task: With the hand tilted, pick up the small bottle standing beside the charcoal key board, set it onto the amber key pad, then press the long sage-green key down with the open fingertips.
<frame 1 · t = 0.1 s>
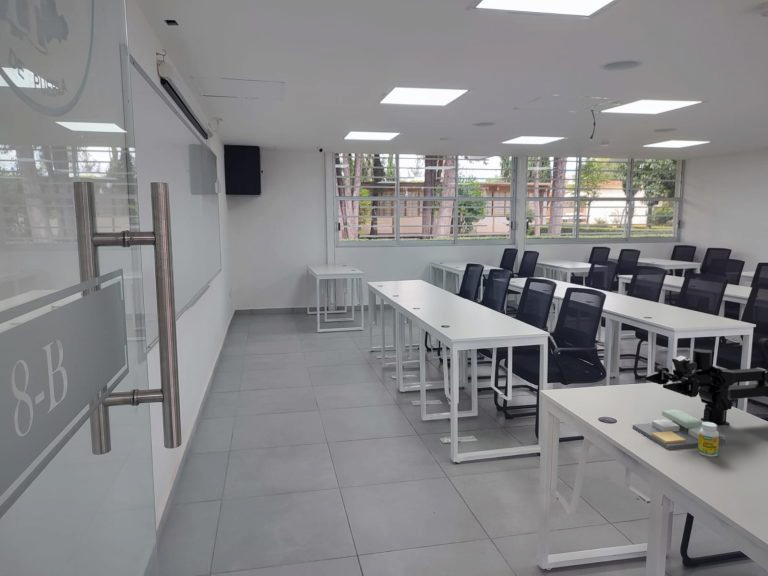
hand: (654, 382, 183), 17 cm above the table, tool horizontal, fingers open, 9 cm apart
supplement bottle: (707, 454, 164), on the table
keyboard: (677, 435, 178), on the table
green key: (681, 420, 183), point 3 cm above the table, slide at 0.0 cm
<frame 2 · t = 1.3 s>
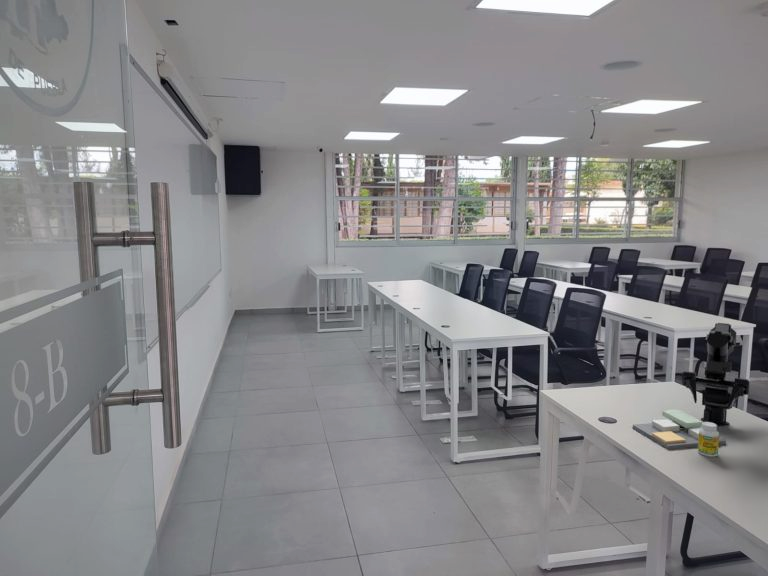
hand: (712, 405, 168), 13 cm above the table, tool tilted 45°, fingers open, 9 cm apart
nothing on the table moved.
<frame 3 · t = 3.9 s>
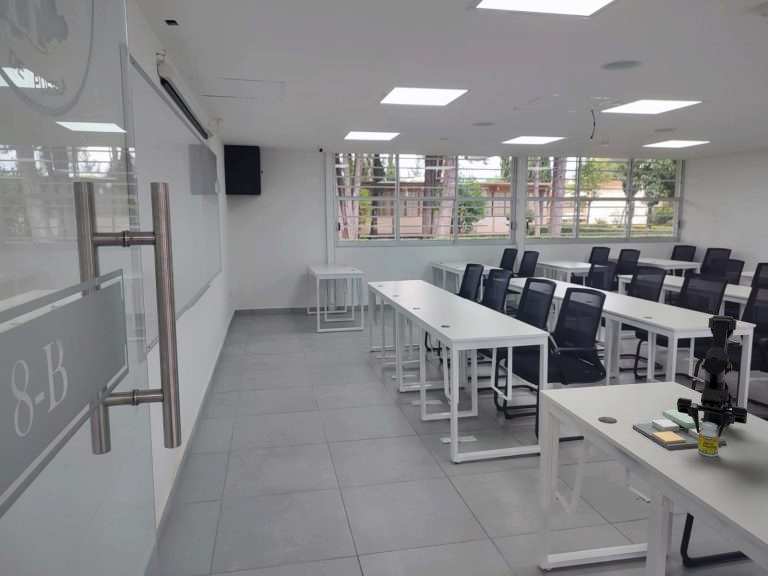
hand: (708, 434, 162), 7 cm above the table, tool tilted 45°, fingers closed on supplement bottle, 5 cm apart
supplement bottle: (707, 454, 164), on the table, touching gripper
everything else where it was.
when the fingers open (9 cm above the table, at t = 7.1 s): supplement bottle stays where it is, resting on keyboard.
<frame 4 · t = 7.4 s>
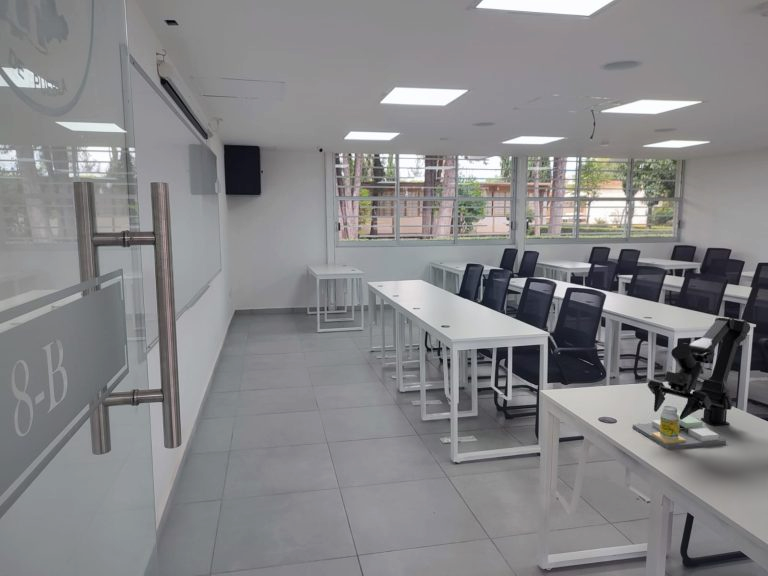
hand: (667, 414, 171), 10 cm above the table, tool tilted 45°, fingers open, 8 cm apart
supplement bottle: (668, 436, 173), point 2 cm above the table, touching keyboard
everything else where it was.
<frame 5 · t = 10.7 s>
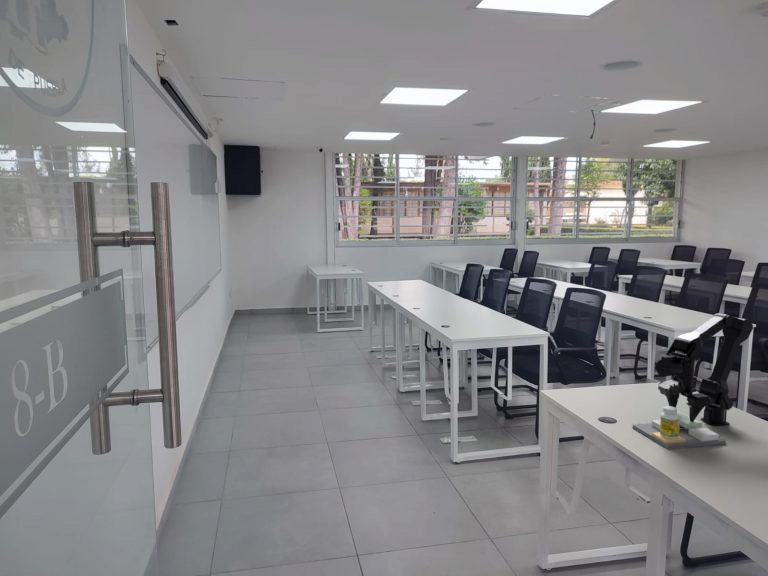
hand: (682, 416, 183), 4 cm above the table, tool pointing down
green key: (681, 420, 183), point 3 cm above the table, slide at 0.2 cm, touching gripper
everything else where it was.
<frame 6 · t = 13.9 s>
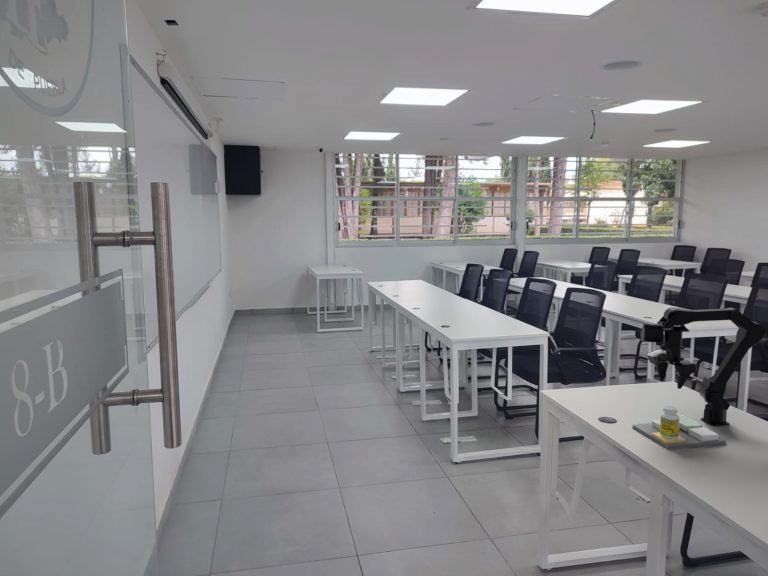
hand: (670, 384, 191), 13 cm above the table, tool pointing down, fingers open, 9 cm apart
green key: (681, 423, 183), point 2 cm above the table, slide at 1.2 cm
everything else where it was.
at the end: supplement bottle inside the target area (0.2 cm from its centre), point 1.8 cm above the table; supplement bottle tilted 0°; green key slide at 1.2 cm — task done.
